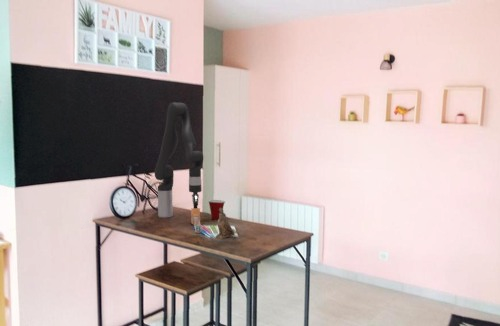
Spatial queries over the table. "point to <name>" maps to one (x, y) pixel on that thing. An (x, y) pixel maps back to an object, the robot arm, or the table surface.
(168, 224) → the table surface
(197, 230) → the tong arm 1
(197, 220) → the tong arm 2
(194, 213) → the collar
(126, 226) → the table surface
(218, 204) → the plastic cup
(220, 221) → the brown carved statuette
